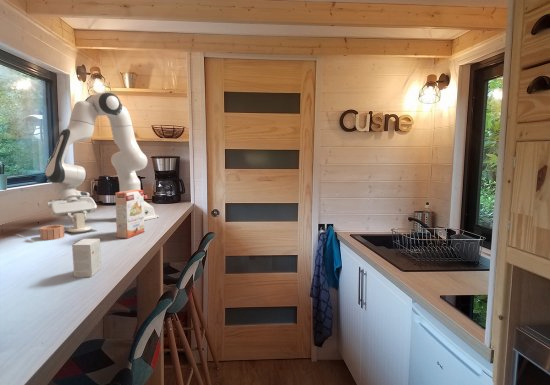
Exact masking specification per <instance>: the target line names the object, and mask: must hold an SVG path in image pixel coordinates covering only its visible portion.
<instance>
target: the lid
mask: <svg viewBox="0 0 550 385" xmlns="http://www.w3.org/2000/svg"><path fill="white" fill-rule="evenodd" d="M72 216H73V217H75V218H76V222H73V226H70V227H68V228H67V231H68V232H72V233H77V232H85V231H89V230H91V229H92V225H86V224H85V221H86V220H85V219H84V214H83V213H76V214H73V215H72Z"/></svg>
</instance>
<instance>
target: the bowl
mask: <svg viewBox="0 0 550 385" xmlns="http://www.w3.org/2000/svg"><path fill="white" fill-rule="evenodd" d="M64 231H65V225H63V224H51V225H44V226H41V227H39V236H40V240H41V241H53V240H60V239H63V238H64V237H65V236H66V235H65V234H66V233H64Z"/></svg>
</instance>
